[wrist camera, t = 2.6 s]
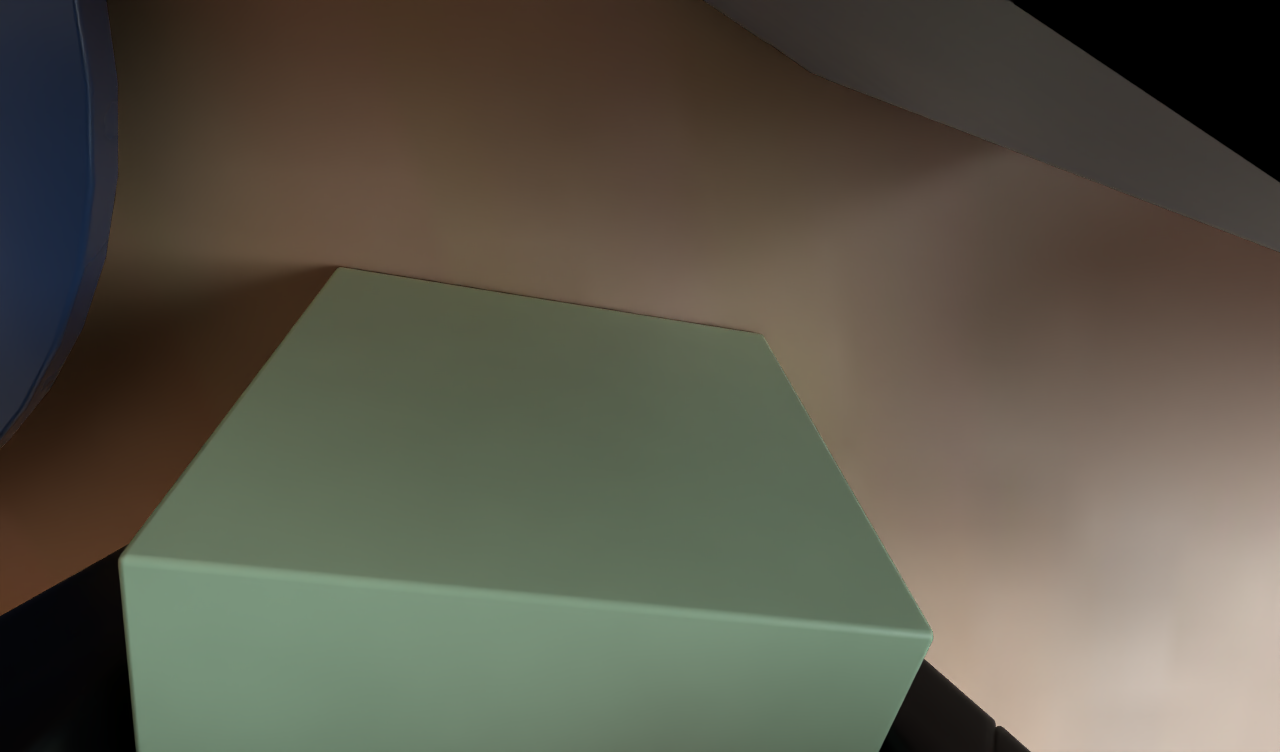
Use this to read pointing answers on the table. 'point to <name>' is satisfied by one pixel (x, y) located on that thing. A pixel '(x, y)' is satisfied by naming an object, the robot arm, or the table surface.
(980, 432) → the table surface
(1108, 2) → the pot
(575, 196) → the table surface
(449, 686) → the block
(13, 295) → the lid
